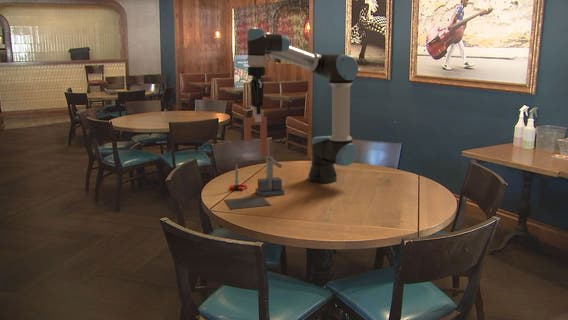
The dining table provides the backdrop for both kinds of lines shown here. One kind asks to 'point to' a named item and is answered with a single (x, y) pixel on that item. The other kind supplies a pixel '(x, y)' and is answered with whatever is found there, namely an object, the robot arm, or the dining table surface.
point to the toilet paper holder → (270, 181)
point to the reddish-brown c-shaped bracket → (263, 132)
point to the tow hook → (236, 186)
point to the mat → (246, 202)
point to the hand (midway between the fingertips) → (257, 121)
